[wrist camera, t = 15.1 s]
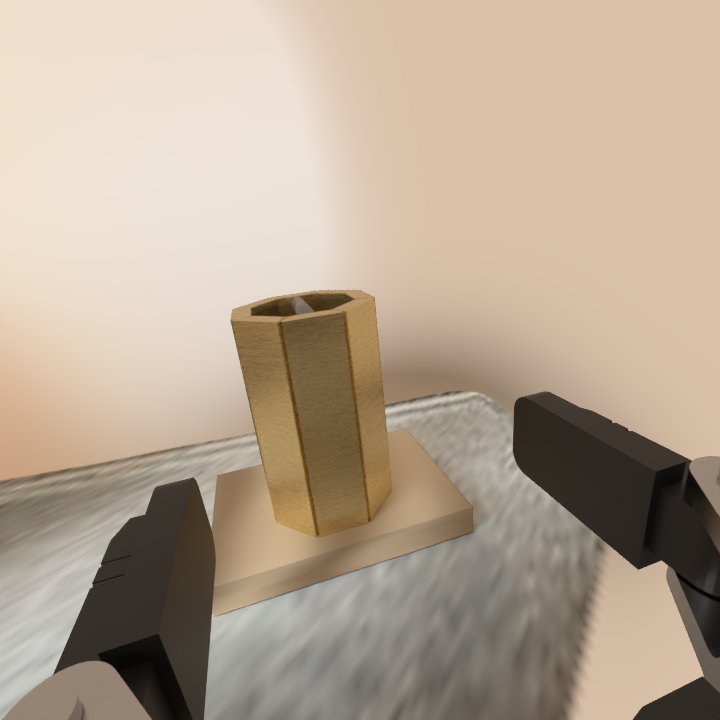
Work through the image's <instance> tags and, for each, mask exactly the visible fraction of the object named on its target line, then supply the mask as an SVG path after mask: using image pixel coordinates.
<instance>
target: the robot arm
mask: <svg viewBox="0 0 720 720" xmlns="http://www.w3.org/2000/svg"><path fill="white" fill-rule="evenodd" d="M513 454H514V458H515V461H516V463H517V465H518V467H519V468H520V470H521V471H522V472H523V473H524V474H525V475H526V476H528V477H529V478H530V479H531V480H532V481H534V482H535V483H536V484H537V485H538V486H540V487H541V488H542V489H543V490H544V491H545V492H547V493H548V494H549V495H550V496H551V497H553V498H554V499H555V500H556V501H557V502H559V503H560V504H561V505H562V506H563V507H564V508H566V509H567V510H568V511H569V512H570V513H572V514H573V515H574V516H575V517H576V518H578V519H579V520H580V521H581V522H582V523H583V524H585V525H586V526H587V527H588V528H589V529H591V530H592V531H593V532H594V533H595V534H597V535H598V536H599V537H600V538H601V539H602V540H604V541H605V542H606V543H607V544H608V545H610V546H611V547H612V548H613V549H614V550H616V551H617V552H618V553H619V554H620V555H621V556H623V557H624V558H625V559H626V560H627V561H629V562H630V563H631V564H632V565H633V566H635V567H636V568H637V569H641V568H643V567H646V566H648V565H651V564H654V563H656V562H659V561H661V560H662V561H663V562H665V563H666V564H667V565H668V569H667V574H666V576H667V582H668V585H669V587H670V590H671V592H672V595H673V597H674V600H675V603H676V605H677V608H678V610H679V613H680V615H681V618H682V620H683V623H684V625H685V628H686V630H687V633H688V635H689V638H690V640H691V643H692V645H693V648H694V650H695V653H696V656H697V658H698V661H699V663H700V666H701V668H702V671H703V674H704V677H701V678H699V679H696V680H695V681H693V682H691V683H689V684H687V685H685V686H683V687H681V688H679V689H677V690H675V691H673V692H671V693H669V694H667V695H665V696H663V697H661V698H659V699H657V700H655V701H653V702H651V703H649V704H647V705H645V706H643V707H642V708H641V709H640V711H639V712H638V713H637V715H636V716H635V717H634V719H633V720H720V457H716V456H709V457H701V458H698V459H695V460H693V461H691V460H689V459H687V458H685V457H683V456H681V455H679V454H677V453H675V452H673V451H671V450H669V449H667V448H665V447H663V446H661V445H659V444H657V443H655V442H653V441H651V440H649V439H647V438H645V437H643V436H641V435H639V434H637V433H635V432H633V431H630V432H629V431H628V429H627V428H625V427H623V426H621V425H619V424H617V423H612V421H611V420H609V419H607V418H605V417H603V416H601V415H599V414H597V413H595V412H593V411H590V410H587V409H583V408H580V407H578V406H576V405H574V404H572V403H570V402H568V401H566V400H564V399H562V398H560V397H558V396H556V395H554V394H552V393H550V392H541V393H537V394H533V395H529V396H525V397H521V398H519V399H518V400H517V401H516V403H515V406H514V431H513ZM215 568H216V553H215V544H214V538H213V534H212V531H211V527H210V524H209V520H208V517H207V514H206V510H205V507H204V504H203V500H202V497H201V493H200V490H199V487H198V484H197V482H196V480H195V479H194V478H190V479H186V480H182V481H178V482H174V483H170V484H166V485H161V486H157V487H156V488H155V489H154V491H153V494H152V497H151V500H150V503H149V505H148V508H147V511H146V514H145V515H142V516H138V517H134V518H130V519H129V521H128V522H127V523H126V524H125V525H124V526H123V527H122V528H121V529H120V531H119V532H118V533H117V534H116V535H115V536H114V537H113V538H112V540H111V541H110V543H109V546H108V548H107V550H106V553H105V555H104V557H103V560H102V562H101V567H100V568H99V569H98V571H97V574H96V576H95V578H94V581H93V588H90V590H89V592H88V595H87V597H86V599H85V602H84V604H83V606H82V609H81V611H80V613H79V616H78V618H77V620H76V623H75V625H74V627H73V630H72V632H71V634H70V637H69V639H68V641H67V644H66V646H65V648H64V651H63V653H62V655H61V658H60V660H59V662H58V665H57V667H56V669H55V672H54V674H53V676H51V677H49V678H48V679H46V680H45V681H43V682H42V683H40V684H39V685H38V686H36V687H35V688H34V689H32V690H31V691H30V692H29V693H28V694H27V695H25V696H24V697H23V698H22V699H21V700H20V701H19V702H18V703H17V704H16V705H15V706H14V707H13V708H12V709H11V710H10V711H9V712H8V714H7V715H6V716H5V717H4V718H3V719H2V720H204V708H205V695H206V683H207V670H208V657H209V644H210V632H211V619H212V606H213V593H214V581H215Z"/></svg>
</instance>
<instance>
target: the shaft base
mask: <svg viewBox="0 0 720 720" xmlns="http://www.w3.org/2000/svg"><path fill="white" fill-rule="evenodd" d="M387 438H388V449H389V460H390V471H391V481H392V492H391V493H390V495H389V496H388V498H387V499H386V501H385V502H384V504H383V505H382V507H381V508H380V510H379V511H378V513H377V514H376V516H375V517H374V518H373V520H372V521H368V523H369V524H365V525H362V526H358V527H355V528H352V529H348V530H345V531H341V532H338V533H335V534H331V535H328V536H325V537H321V538H320V536H319V535H318V536H317V537H316V538H315V537H313V536H310V535H307V534H305V533H302V532H299V531H297V530H294V529H291V528H289V527H286V526H283V525H281V524H278V523H277V521H275V517H274V512H273V508H272V503H271V499H270V494H269V490H268V485H267V481H266V477H265V472H264V468H263V464H262V465H258V466H254V467H250V468H246V469H242V470H238V471H234V472H230V473H226V474H221V475H217V484H216V494H215V504H214V513H213V523H212V534H213V538H214V544H215V553H216V568H215V581H214V593H213V606H212V611H213V614H214V617H215V616H218V615H221V614H224V613H227V612H230V611H233V610H236V609H239V608H242V607H245V606H248V605H251V604H254V603H257V602H260V601H263V600H266V599H270V598H273V597H276V596H279V595H282V594H285V593H288V592H291V591H294V590H297V589H300V588H303V587H306V586H309V585H312V584H315V583H318V582H321V581H325V580H328V579H331V578H334V577H337V576H340V575H343V574H346V573H349V572H352V571H355V570H358V569H361V568H364V567H367V566H370V565H373V564H376V563H380V562H383V561H386V560H389V559H392V558H395V557H398V556H401V555H404V554H407V553H410V552H413V551H416V550H419V549H422V548H425V547H428V546H431V545H435V544H438V543H441V542H444V541H447V540H450V539H453V538H456V537H459V536H462V535H465V534H468V533H471V532H473V507H472V506H471V504H470V503H469V502H468V501H467V500H466V499H465V497H464V496H463V495H462V494H461V493H460V491H459V490H458V489H457V488H456V487H455V486H454V484H453V483H452V482H451V481H450V480H449V478H448V477H447V476H446V475H445V474H444V472H443V471H442V470H441V469H440V468H439V467H438V465H437V464H436V463H435V462H434V461H433V459H432V458H431V457H430V456H429V455H428V454H427V452H426V451H425V450H424V449H423V448H422V446H421V445H420V444H419V443H418V442H417V441H416V439H415V438H414V437H413V436H412V435H411V433H410V432H409V431H408V430H407V429H403V430H399V431H395V432H391V433H387Z"/></svg>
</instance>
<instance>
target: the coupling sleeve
mask: <svg viewBox="0 0 720 720" xmlns="http://www.w3.org/2000/svg"><path fill="white" fill-rule="evenodd" d="M231 324H232V329H233V333H234V337H235V342H236V347H237V351H238V355H239V360H240V364H241V369H242V373H243V378H244V382H245V386H246V391H247V396H248V400H249V405H250V409H251V413H252V418H253V423H254V427H255V432H256V436H257V441H258V445H259V450H260V454H261V459H262V463H263V468H264V472H265V477H266V481H267V485H268V490H269V494H270V499H271V503H272V508H273V512H274V517H275V521H277V523H278V524H281V525H283V526H286V527H289V528H291V529H294V530H297V531H299V532H302V533H305V534H307V535H310V536H313V537H315V538H316V537H317V536H318V535H319V536H320V538H321V537H325V536H328V535H331V534H335V533H338V532H341V531H345V530H348V529H352V528H355V527H358V526H362V525H365V524H369V523H368V521H372V520H373V518H374V517H375V516H376V514H377V513H378V511H379V510H380V508H381V507H382V505H383V504H384V502H385V501H386V499H387V498H388V496H389V495H390V493H391V492H392V481H391V471H390V460H389V449H388V438H387V427H386V416H385V405H384V395H383V384H382V373H381V362H380V352H379V340H378V330H377V319H376V308H375V298H374V297H373V296H371V295H369V294H367V293H365V292H363V291H361V290H359V291H358V290H319V291H311V292H304V293H297V294H291V295H284V296H277V297H272V298H267V299H264V300H261V301H258V302H254V303H251V304H248V305H245V306H241V307H238V308H235V309H234V310H232V315H231Z"/></svg>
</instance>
